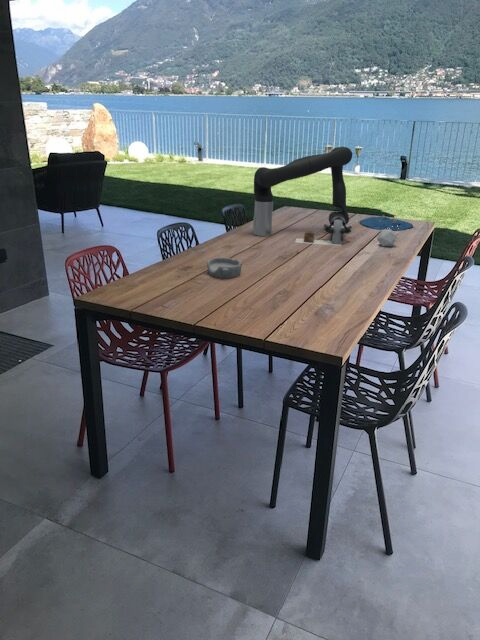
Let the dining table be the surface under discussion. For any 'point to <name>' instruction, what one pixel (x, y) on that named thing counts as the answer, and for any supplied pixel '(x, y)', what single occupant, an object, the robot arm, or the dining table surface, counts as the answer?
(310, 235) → the walnut block
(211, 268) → the dish
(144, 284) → the dining table surface
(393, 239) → the die
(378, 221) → the decorative plate
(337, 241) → the grey post on base
